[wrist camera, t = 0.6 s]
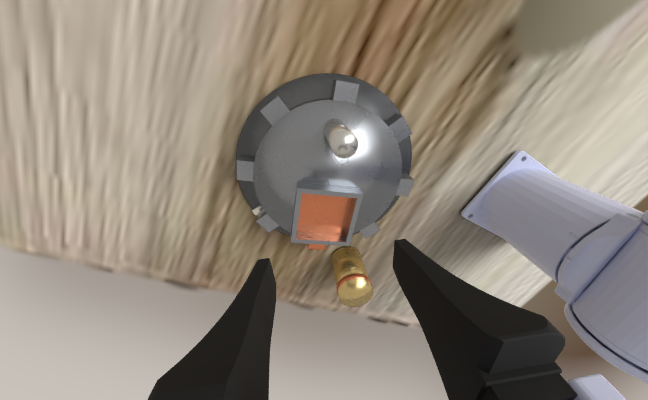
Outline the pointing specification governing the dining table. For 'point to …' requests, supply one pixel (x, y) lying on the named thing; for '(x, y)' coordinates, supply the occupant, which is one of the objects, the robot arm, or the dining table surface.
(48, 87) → the dining table surface
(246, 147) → the base flange
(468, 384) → the robot arm
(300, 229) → the grey toothed wheel
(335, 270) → the roller
